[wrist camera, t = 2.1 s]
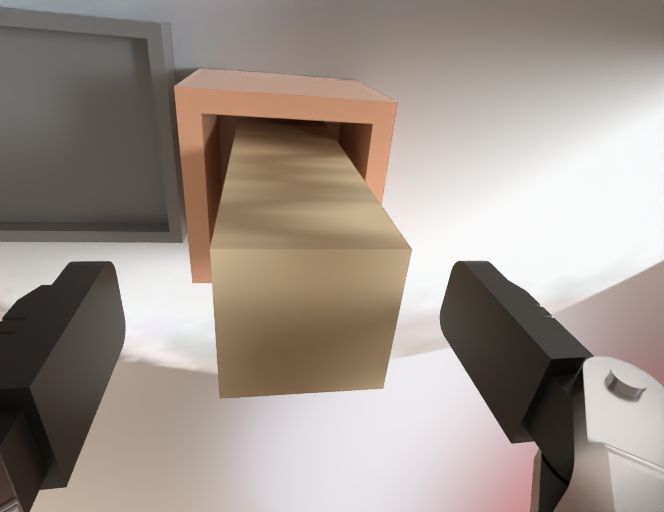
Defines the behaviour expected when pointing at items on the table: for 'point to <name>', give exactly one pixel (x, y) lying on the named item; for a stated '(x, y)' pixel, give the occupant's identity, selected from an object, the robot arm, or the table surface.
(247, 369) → the birch peg
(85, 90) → the grey square tray
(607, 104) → the table surface
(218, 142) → the orange open box
